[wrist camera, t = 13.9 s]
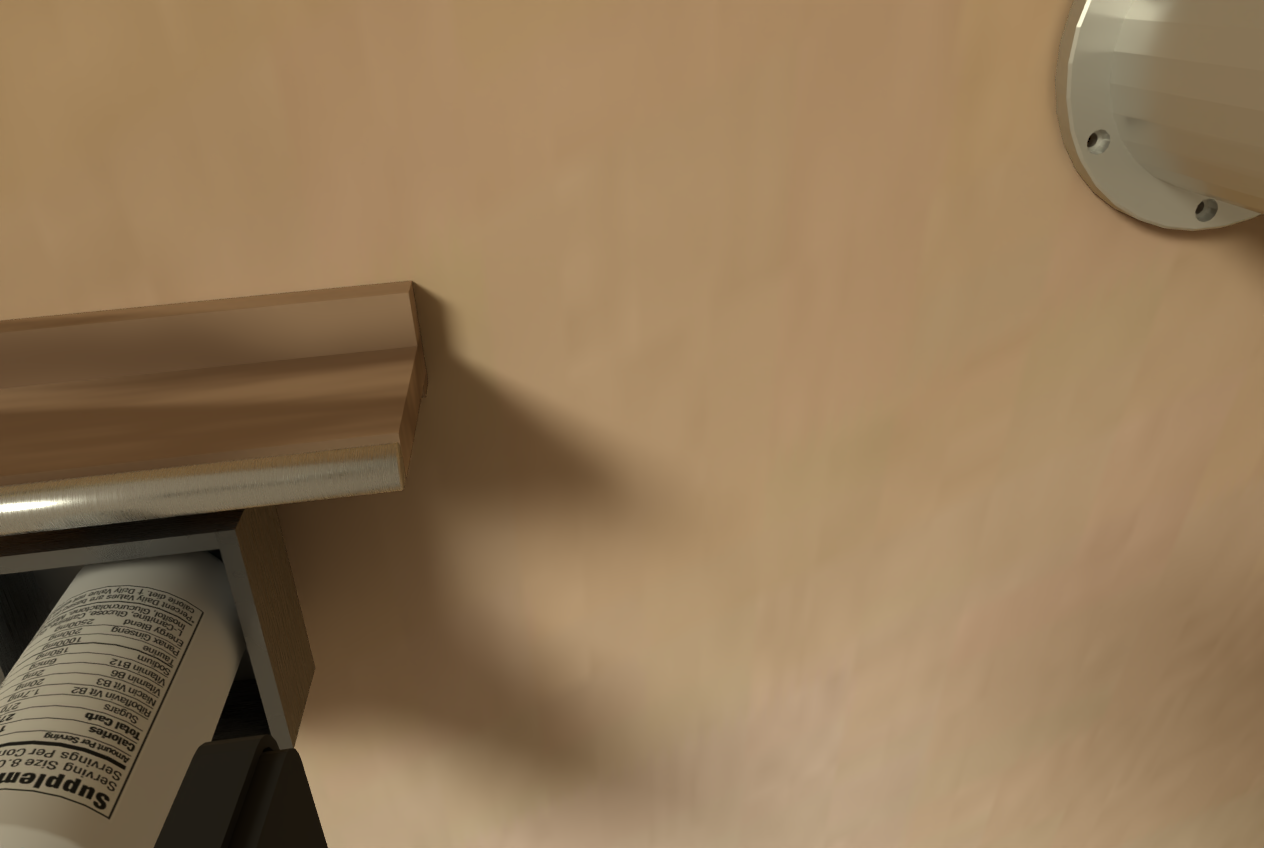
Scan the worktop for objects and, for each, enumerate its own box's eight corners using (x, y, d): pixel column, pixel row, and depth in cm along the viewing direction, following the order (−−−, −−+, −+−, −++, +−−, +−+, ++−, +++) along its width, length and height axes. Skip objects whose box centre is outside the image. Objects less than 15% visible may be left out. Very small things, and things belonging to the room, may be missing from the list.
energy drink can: (87, 667, 36) (-154, 1079, 23) (69, 521, 34) (-212, 886, 21) (261, 669, 37) (128, 1067, 24) (255, 528, 35) (103, 881, 22)
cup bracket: (463, 598, 43) (453, 777, 33) (-32, 659, 41) (-190, 866, 31) (411, 280, 37) (381, 387, 27) (-167, 337, 35) (-412, 471, 26)
